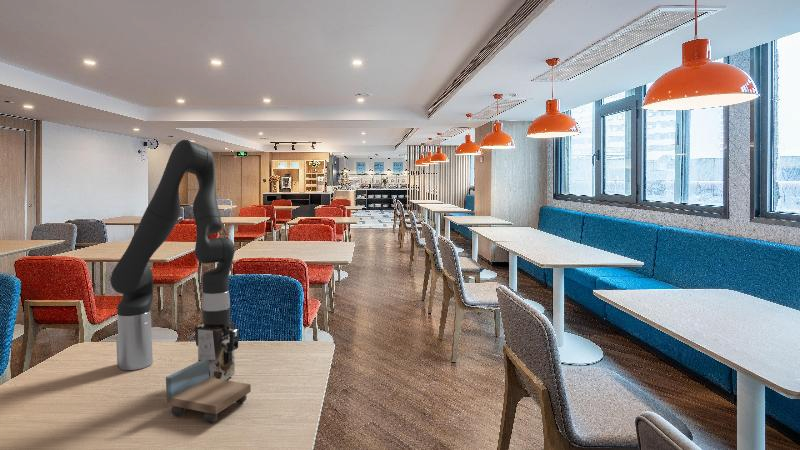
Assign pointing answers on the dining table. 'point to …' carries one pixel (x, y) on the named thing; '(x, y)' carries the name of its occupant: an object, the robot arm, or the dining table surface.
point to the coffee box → (215, 351)
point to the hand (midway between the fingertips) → (217, 362)
